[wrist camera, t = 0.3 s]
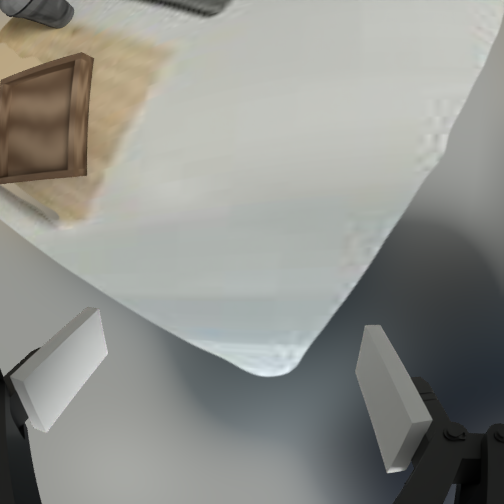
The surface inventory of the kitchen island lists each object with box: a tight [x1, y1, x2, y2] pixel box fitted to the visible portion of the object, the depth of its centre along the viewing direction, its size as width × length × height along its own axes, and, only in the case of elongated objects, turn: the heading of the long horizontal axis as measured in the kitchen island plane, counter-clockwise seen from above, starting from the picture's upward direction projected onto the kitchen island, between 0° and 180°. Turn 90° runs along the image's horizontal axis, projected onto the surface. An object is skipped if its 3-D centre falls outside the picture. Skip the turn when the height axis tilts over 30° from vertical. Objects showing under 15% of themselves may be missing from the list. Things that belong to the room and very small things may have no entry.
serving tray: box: [0, 52, 94, 184], centre depth 37 cm, size 18×18×4 cm
